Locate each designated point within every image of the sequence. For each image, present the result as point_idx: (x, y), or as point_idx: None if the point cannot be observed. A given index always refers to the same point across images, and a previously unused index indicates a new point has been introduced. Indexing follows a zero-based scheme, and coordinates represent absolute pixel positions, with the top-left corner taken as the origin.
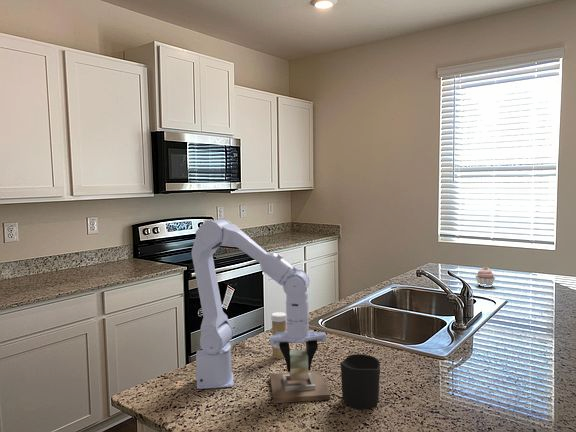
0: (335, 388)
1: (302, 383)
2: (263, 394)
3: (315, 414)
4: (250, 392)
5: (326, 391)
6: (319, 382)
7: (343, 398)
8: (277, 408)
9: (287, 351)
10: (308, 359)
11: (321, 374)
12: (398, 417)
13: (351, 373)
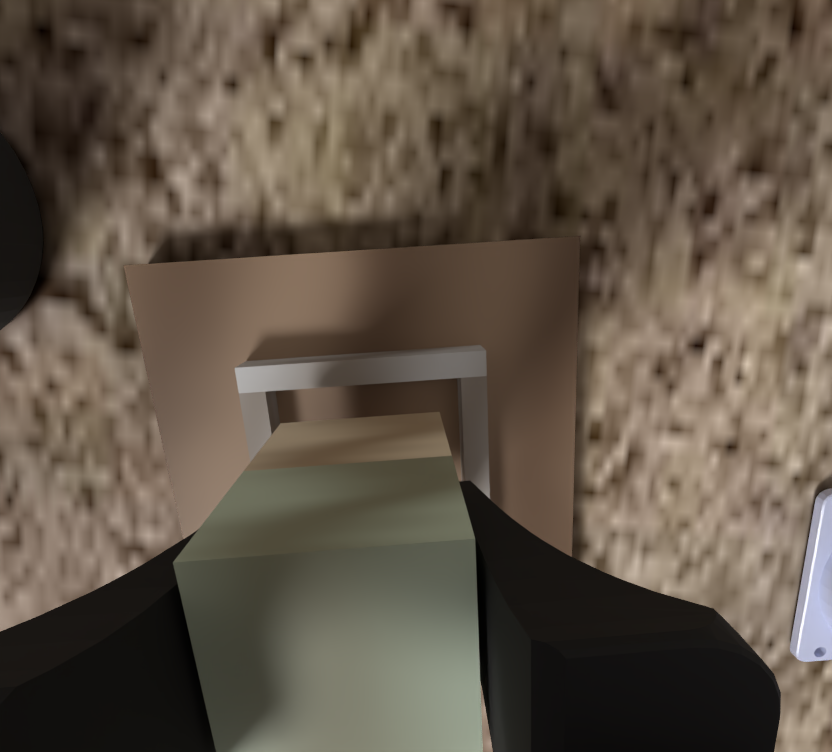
0: (110, 428)
1: None
2: (624, 377)
3: (265, 29)
4: (707, 412)
5: (157, 320)
6: (213, 471)
7: (7, 179)
8: (547, 158)
9: (564, 612)
10: None
11: None
12: None
13: None
